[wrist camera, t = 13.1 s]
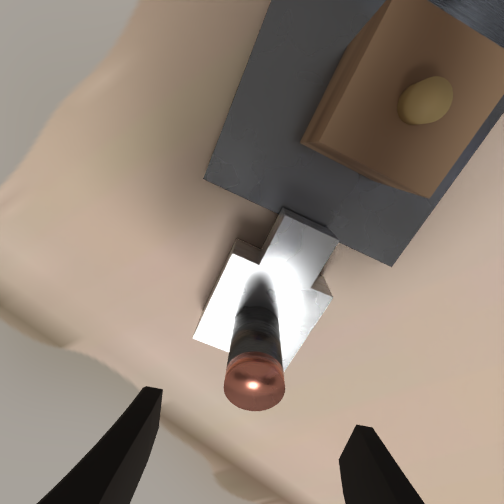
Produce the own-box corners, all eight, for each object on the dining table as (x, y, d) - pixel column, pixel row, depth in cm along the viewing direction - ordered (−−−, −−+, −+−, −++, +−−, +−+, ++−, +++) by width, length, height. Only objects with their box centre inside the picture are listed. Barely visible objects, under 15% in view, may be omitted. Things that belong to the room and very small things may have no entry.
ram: (349, 236, 16) (407, 295, 10) (280, 345, 19) (289, 445, 13) (257, 192, 15) (254, 226, 9) (201, 313, 18) (169, 403, 12)
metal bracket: (536, 48, 13) (621, 19, 10) (385, 261, 17) (412, 286, 14) (310, -95, 11) (328, -182, 8) (205, 177, 15) (192, 184, 12)
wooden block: (430, 92, 13) (553, 54, 7) (374, 181, 14) (443, 203, 9) (347, 45, 12) (415, -34, 7) (299, 143, 14) (324, 141, 8)
